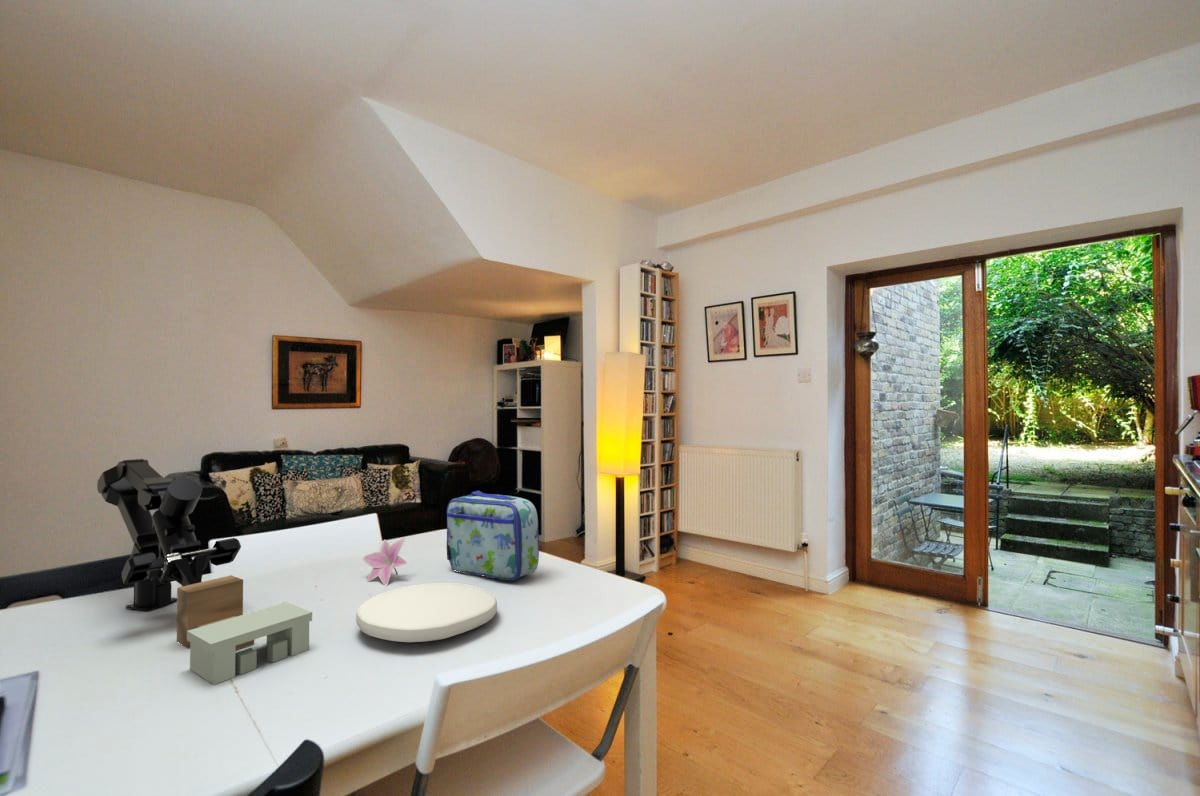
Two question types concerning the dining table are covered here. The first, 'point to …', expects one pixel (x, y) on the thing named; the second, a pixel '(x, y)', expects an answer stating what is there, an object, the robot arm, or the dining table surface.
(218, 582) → the rectangular block
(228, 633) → the green miniature desk
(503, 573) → the lunch box
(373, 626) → the cream round disc
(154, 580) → the robot arm
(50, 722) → the dining table surface
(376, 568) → the lily
